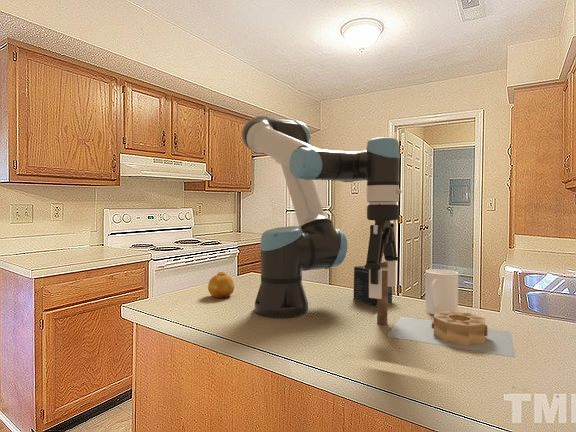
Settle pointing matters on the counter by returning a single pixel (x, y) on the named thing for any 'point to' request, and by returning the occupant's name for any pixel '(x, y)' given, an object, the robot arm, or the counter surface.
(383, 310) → the brown cigar
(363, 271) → the box
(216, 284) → the fruit
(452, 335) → the bead
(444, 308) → the mug
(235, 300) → the counter surface
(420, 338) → the board
